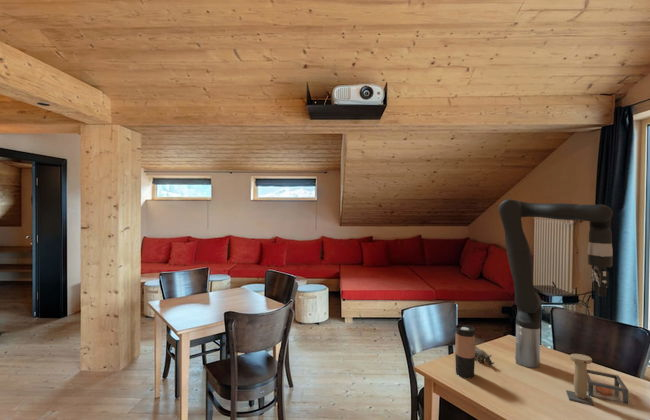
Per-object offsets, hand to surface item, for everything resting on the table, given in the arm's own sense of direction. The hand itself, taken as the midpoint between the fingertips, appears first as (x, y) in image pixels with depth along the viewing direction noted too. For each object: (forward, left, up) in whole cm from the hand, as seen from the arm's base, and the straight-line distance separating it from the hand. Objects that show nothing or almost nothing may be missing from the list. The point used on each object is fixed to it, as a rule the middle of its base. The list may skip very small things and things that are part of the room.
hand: (599, 293), depth 127 cm
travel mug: (-48, -20, -36) cm, 63 cm away
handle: (-9, -17, -36) cm, 41 cm away
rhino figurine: (-43, -5, -36) cm, 56 cm away
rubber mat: (-9, -18, -36) cm, 41 cm away
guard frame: (0, -8, -36) cm, 37 cm away
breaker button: (0, -8, -36) cm, 36 cm away
